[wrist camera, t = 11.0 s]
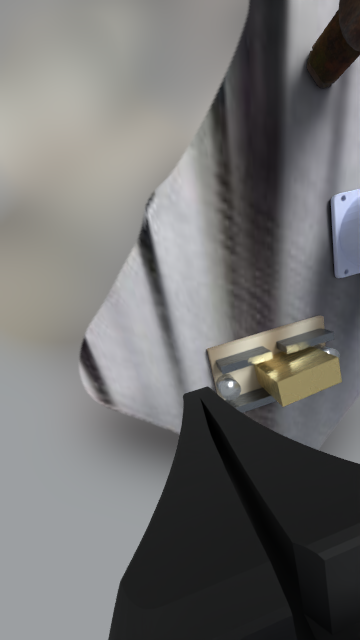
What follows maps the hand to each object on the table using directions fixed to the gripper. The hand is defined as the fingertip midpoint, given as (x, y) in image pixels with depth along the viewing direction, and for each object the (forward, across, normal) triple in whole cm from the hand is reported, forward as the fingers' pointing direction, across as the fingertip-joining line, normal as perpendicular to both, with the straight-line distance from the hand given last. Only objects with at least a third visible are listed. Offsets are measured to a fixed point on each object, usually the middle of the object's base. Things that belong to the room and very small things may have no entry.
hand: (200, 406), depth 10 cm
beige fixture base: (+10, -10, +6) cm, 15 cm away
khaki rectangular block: (+9, -10, +5) cm, 15 cm away
